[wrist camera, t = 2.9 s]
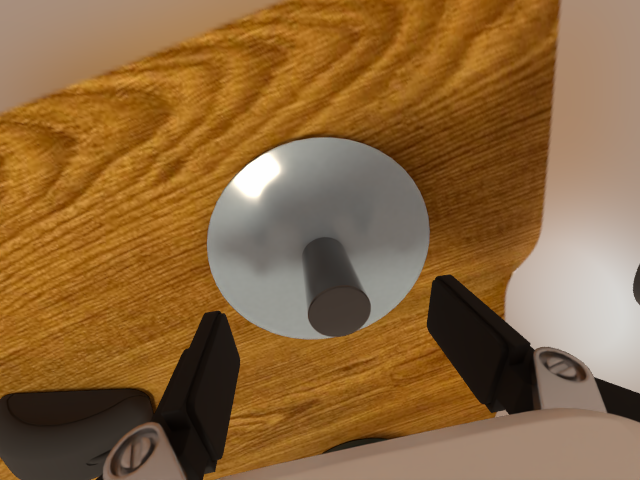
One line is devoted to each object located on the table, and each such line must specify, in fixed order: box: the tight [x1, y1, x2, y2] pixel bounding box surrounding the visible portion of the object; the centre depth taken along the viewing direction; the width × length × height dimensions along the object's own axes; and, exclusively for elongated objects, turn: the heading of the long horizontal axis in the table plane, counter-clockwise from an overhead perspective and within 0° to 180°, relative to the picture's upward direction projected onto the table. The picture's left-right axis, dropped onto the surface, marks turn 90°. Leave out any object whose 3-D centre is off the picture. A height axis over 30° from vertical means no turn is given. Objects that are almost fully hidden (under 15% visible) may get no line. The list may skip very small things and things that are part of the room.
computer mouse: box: [0, 389, 154, 480], centre depth 19 cm, size 6×11×4 cm, turn 84°
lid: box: [207, 137, 430, 339], centre depth 14 cm, size 15×15×7 cm
